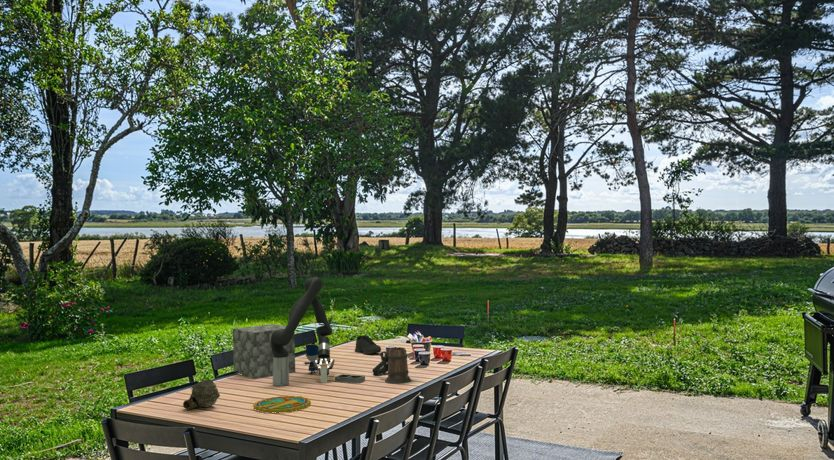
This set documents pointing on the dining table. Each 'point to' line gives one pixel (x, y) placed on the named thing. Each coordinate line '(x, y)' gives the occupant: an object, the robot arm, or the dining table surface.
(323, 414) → the dining table surface
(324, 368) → the two-tone square post
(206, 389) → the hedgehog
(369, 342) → the running shoe
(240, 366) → the block
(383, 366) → the toy gun
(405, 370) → the tankard
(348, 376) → the divided rectangular frame
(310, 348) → the figurine
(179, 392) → the dining table surface
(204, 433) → the dining table surface
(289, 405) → the decorative plaque
